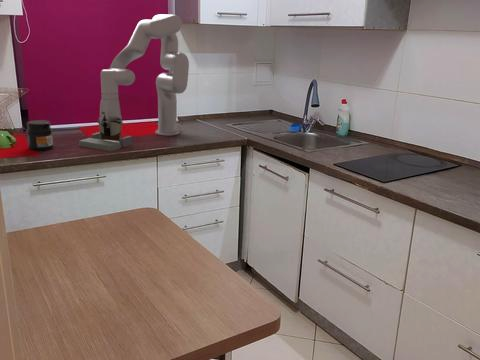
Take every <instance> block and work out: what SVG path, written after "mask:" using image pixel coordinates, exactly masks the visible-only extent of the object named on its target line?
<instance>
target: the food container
mask: <svg viewBox="0 0 480 360" xmlns="http://www.w3.org/2000/svg"><path fill="white" fill-rule="evenodd" d="M99 120H100V117H98V118H97V124H98V128H99V132H100V136H101V140H111V141H117V142H119V138H122V137H121V136H122V126H123V125H124V122H123V120H122V118H119V119H118V120H114V121H111V122H110V124H109V128H110V136H104V127H103V126H102V125H101V123H100V122H99ZM106 124H107V122H106Z"/></svg>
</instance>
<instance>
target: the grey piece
mask: <svg viewBox="0 0 480 360" xmlns="http://www.w3.org/2000/svg"><path fill="white" fill-rule="evenodd" d="M90 136H91V137H87V138H83V139H80V140H78V145H79V147H84V148H89V149H95V150H101V151H105V152H106V151H107V152H115V151H116V150H119V149H120V150H121V148H126V147H129V146H132V145H133V136H131V135H127V136H123V137H121V138H119V141H113V140H101V136H100V131H98V132H95V133H91V134H90Z"/></svg>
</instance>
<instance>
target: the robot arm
mask: <svg viewBox="0 0 480 360" xmlns="http://www.w3.org/2000/svg"><path fill="white" fill-rule="evenodd" d="M182 23H183V22H182V19H181V18H180V17H179V16H178V15H177V14H164V13H163V14H160V13H159V14H156V15H154V16H153V17H152V19H142V20H140V21H139V22H138V23H137V25H136V26H135V29H134V31H133V33H132V35H131V37H130V39H129V41H128V43H127V45H126V46H125V47H124V48H123V49H122V50H121V51H120V52H119V53H118V54H117V55H115V57H113V58H114V59H113V60H112V63H110V67H109V68H107V69H102V70H101V71H100V88H101V91H100V92H101V99H100V104H99V118H100V120H99V122H100V123H101V125H102V126H103V127H104V136H110V128H109V124H110V122H111V121H114V120H118V119H119V118H121V119H122V118H123V116H122V115H121V105H120V100H119V86H130V85H132V84H133V83H134V82H135V81H136V75H135V73H134V72H133V70H130V69H127V68H126V67H127V66H128V65H129V64H130V63H131V62H133V61H135V60H137V59H139V58H141V57H143V56H144V55H145V53H146V50H147V48H148V46H149V45H150V44H149V43H150V42H151V40H152V39H153V40H157V39H160V42H161V43H160V44H161V45H160V46H161V47H160V61H159V62H160V63H159V64H160V66H161V68H162V69H164V70H166V71H170V72H161V73H160V74H157V75H158V76H156V78H155V79H156V80H155V85H156V86H155V88H156V93H157V112H158V113H157V114H158V115H157V117H158V118H157V119H158V127H157V129H156V130H155V134H156V135H159V136H165V137H166V136H170V137H171V136H177V135H179V134H180V130H178V128H180V127H181V124H180V123H177V97H176V94H179V95H180V94H184V92H185V91H186V90H187V87H188V81H189V70H190V60H189V57H188V56H187V55H186V54H185V52H184V53H183V52H182V51H179V37H178V36H177V33H178V32H180V30H181V29H182V25H183V24H182ZM171 71H172V73H171ZM106 122H107V124H106Z"/></svg>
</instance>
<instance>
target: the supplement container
mask: <svg viewBox="0 0 480 360" xmlns="http://www.w3.org/2000/svg"><path fill="white" fill-rule="evenodd" d="M26 126H27V129H26V133H27V135H26V136H27V145H28V147H27V148H29V150H31V151H34V152H35V151H36V152H40V151H41V152H42V151H49V150H51V149H53V148H54V140H53V128H52V127H51V122H50V121H49V120H45V119H40V120H38V119H36V120H30V121H27V122H26Z"/></svg>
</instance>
